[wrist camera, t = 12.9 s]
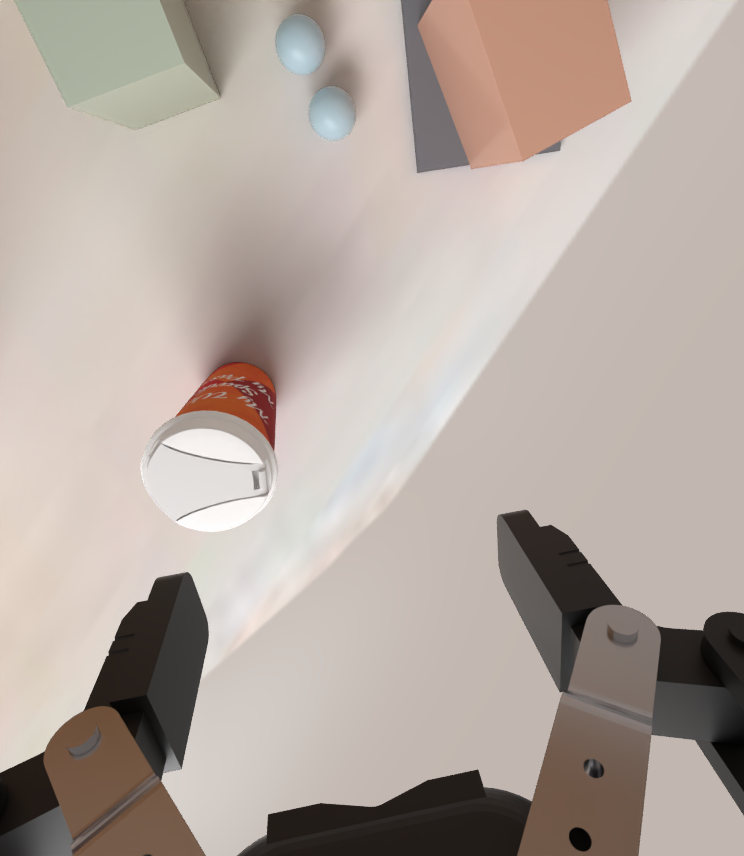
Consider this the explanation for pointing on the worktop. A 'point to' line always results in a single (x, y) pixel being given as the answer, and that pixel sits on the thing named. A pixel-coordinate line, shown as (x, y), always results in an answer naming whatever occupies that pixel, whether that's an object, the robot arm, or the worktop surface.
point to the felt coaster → (431, 102)
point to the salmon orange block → (523, 71)
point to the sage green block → (122, 57)
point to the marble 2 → (332, 113)
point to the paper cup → (216, 452)
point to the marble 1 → (300, 44)
